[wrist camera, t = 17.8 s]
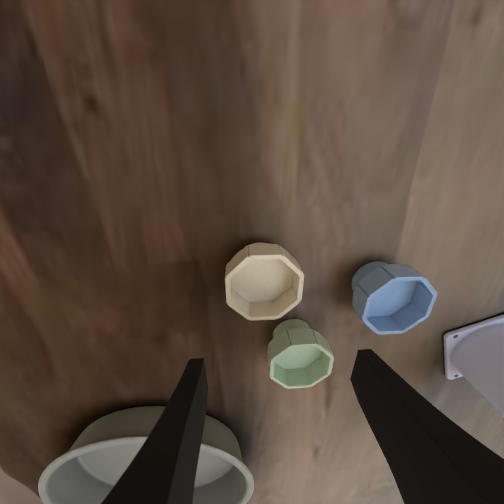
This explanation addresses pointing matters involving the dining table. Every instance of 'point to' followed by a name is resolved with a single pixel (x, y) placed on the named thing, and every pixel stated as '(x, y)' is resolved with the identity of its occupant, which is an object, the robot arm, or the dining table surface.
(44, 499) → the cake pan
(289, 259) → the ivory bowl
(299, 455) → the dining table surface
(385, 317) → the blue bowl
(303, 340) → the celadon bowl
